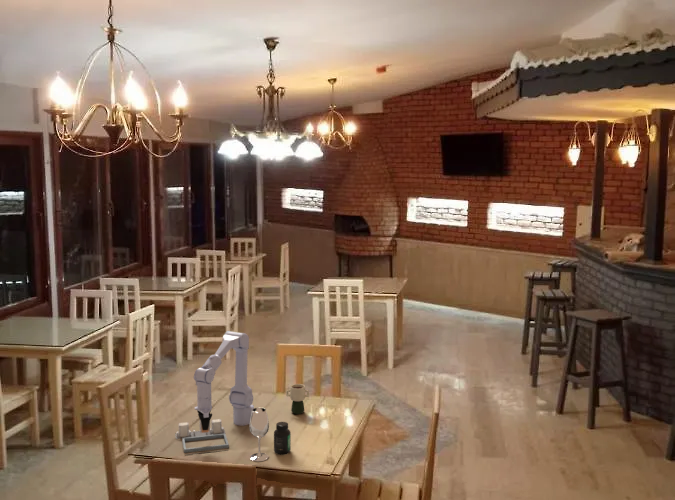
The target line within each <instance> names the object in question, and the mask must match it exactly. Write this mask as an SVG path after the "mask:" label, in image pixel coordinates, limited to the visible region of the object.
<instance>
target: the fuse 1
mask: <svg viewBox="0 0 675 500" xmlns="http://www.w3.org/2000/svg"><path fill="white" fill-rule="evenodd" d="M189 427H190V425H189V421H188V422H178V433H179V437H186V436H189V430H190V429H189Z"/></svg>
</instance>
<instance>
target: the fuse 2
mask: <svg viewBox="0 0 675 500" xmlns="http://www.w3.org/2000/svg"><path fill="white" fill-rule="evenodd" d="M210 422H211V430H212V434H215V433H222V427H223V426H222V424H223V423H222V419H221V418H218V419H210Z"/></svg>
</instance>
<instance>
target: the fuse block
mask: <svg viewBox="0 0 675 500" xmlns="http://www.w3.org/2000/svg"><path fill="white" fill-rule="evenodd" d="M216 434H226V430H225V428H224V426H222V433H215V434H212V427H210V432H204V433H200V430H195V429H193V431H191V430H190V429H189V436H186V437H179V430H178V431H176V433H175V434H174V435H175V436H174V437H175V440H179V439H182V438H187V437H197V436H206V435H216ZM226 435H227V434H226Z"/></svg>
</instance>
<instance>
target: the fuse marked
mask: <svg viewBox="0 0 675 500" xmlns="http://www.w3.org/2000/svg"><path fill="white" fill-rule="evenodd" d="M198 421H199V431H200V433H204V432H210V428H211V421H210V422H209V428H208V430H203V429H202V424H201V420H200V418H199V420H198Z"/></svg>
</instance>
